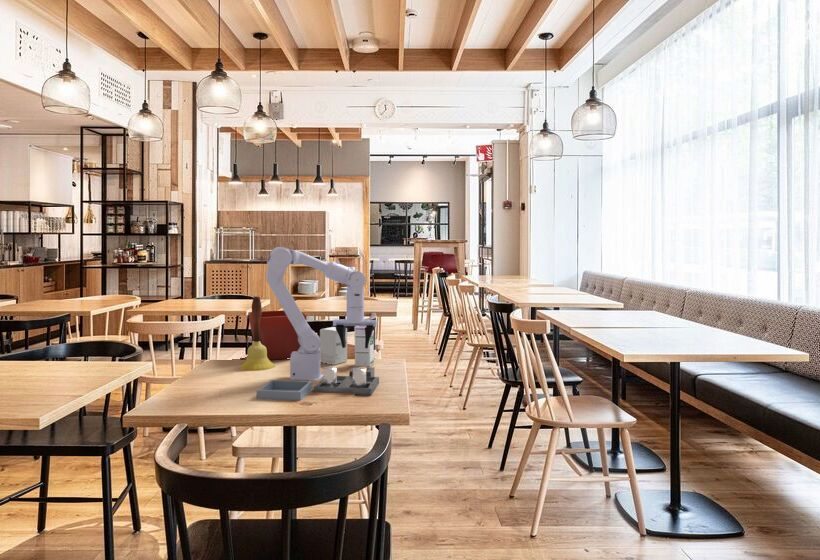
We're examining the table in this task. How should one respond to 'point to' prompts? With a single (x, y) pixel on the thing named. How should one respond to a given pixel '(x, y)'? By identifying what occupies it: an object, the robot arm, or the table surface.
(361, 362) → the syrup box
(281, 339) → the plant pot
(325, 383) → the cylinder
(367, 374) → the button housing
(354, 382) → the billet
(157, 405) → the table surface
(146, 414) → the table surface
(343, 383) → the frame
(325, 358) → the supplement box
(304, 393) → the tote
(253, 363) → the handbell
